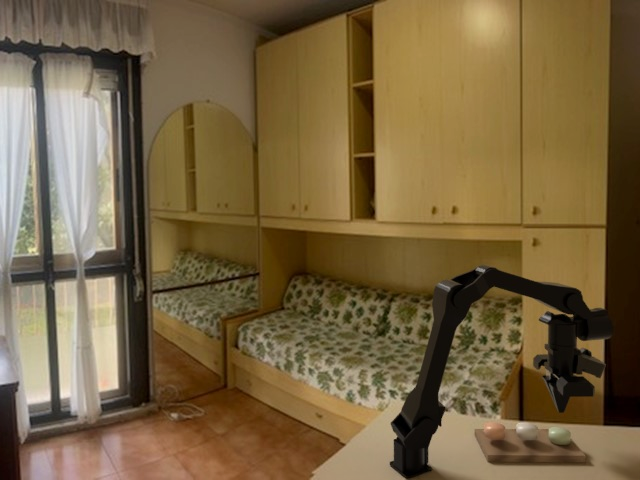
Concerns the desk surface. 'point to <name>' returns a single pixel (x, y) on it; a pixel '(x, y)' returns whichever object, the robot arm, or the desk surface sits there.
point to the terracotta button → (494, 431)
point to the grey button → (527, 431)
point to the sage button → (559, 435)
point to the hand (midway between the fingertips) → (560, 412)
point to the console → (527, 448)
